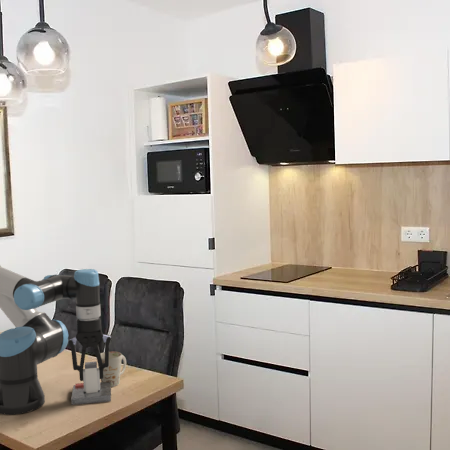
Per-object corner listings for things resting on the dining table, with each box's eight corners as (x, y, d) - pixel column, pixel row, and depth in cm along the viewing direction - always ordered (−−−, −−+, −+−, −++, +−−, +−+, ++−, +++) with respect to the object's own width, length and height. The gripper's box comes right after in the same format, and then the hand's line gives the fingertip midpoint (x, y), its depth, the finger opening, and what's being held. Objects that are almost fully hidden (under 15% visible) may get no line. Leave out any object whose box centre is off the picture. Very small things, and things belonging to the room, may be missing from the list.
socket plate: (71, 404, 180) (71, 396, 180) (73, 391, 192) (73, 383, 191) (110, 401, 182) (110, 393, 182) (110, 387, 194) (110, 380, 194)
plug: (86, 393, 184) (84, 365, 184) (86, 389, 188) (85, 362, 187) (97, 392, 185) (96, 364, 184) (98, 388, 189) (96, 361, 188)
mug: (92, 386, 196) (91, 357, 195) (116, 374, 207) (115, 346, 206) (112, 389, 192) (111, 360, 191) (135, 377, 203) (134, 349, 202)
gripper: (60, 322, 179) (64, 396, 181) (115, 318, 183) (118, 391, 185) (62, 317, 187) (66, 387, 189) (115, 313, 190) (118, 382, 192)
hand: (92, 389), depth 187 cm, fingers closed on plug, 4 cm apart
